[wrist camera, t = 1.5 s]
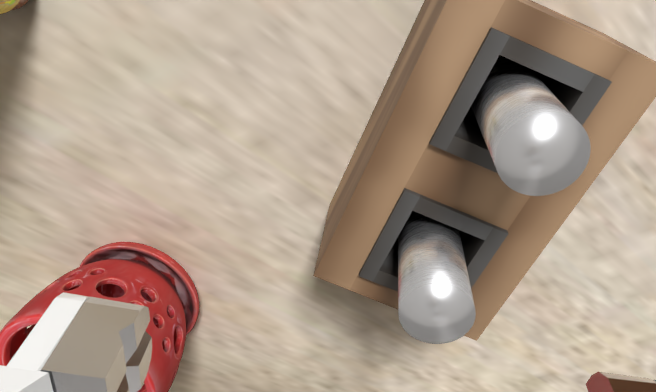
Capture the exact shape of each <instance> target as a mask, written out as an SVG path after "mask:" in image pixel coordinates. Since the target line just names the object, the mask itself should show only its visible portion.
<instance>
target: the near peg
mask: <svg viewBox="0 0 656 392" xmlns="http://www.w3.org/2000/svg"><path fill="white" fill-rule="evenodd" d="M471 108H472V110H473V113H474V115H475V118H476V120H477V123H478V125H479V128H480V130H481V132H482V135H483V137H484V140H485V142H486V145H487V147H488V150H489V152H490V155H491V157H492V160H493V162H494V165H495V167H496V170H497V172H498V174H499V176H500V178H501V180H502V181H503V182H504V183H505V184H506V185H507V186H508V187H509V188H511V189H512V190H514V191H516V192H518V193H521V194H525V195H530V196H543V195H549V194H553V193H556V192H559V191H561V190H563V189H565V188H566V187H568V186H569V185H571V184H572V183H573V182H574V181H576V180H577V179H578V178H579V176H580V175H581V174H582V173H583V171H584V169H585V168H586V166H587V163H588V161H589V157H590V148H591V146H590V140H589V137H588V134H587V132H586V130H585V129H584V128H583V126H582V125H581V124H580V123H579V122H578V121H577V120H576V118H575V117H574V116H573V115H572V114H571V113H570V112H569V111H568V110H567V109H566V107H565V106H564V105H563V104H562V103H561V102H560V101H559V100H558V99H557V98H556V96H555V95H554V94H553V93H552V92H551V91H550V90H549V89H548V88H547V87H546V85H545V84H544V83H543V82H542V81H541V80H540V79H539V78H538V77H537V76H536V75H535V73H534V72H533V71H532V70H531V69H530V68H528V67H526V66H523V65H521V64H519V63H517V62H514V61H512V60H510V59H508V58H506V59H498V60H496V62H495V64H494V66H493V68H492V69H491V71H490V73H489V75H488V76H487V78H486V80H485V82H484V84H483V85H482V87H481V89H480V91H479V93H478V94H477V96H476V98H475V100H474V102H473V103H472V105H471Z"/></svg>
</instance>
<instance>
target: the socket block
mask: <svg viewBox="0 0 656 392" xmlns="http://www.w3.org/2000/svg"><path fill="white" fill-rule="evenodd" d="M499 55H501V56H503V57H505V58H508V59H510V60H512V61H514V62H517V63H519V64H521V65H523V66H526V67H528V68H530V69H531V70H532V71H533V72H534V73H535V75H536V76H537V77H538V78H539V79H540V80H541V81H542V82H543V83H544V84H545V85H546V87H547V88H548V89H549V90H550V91H551V92H552V93H553V94H554V95H555V96H556V98H557V99H558V100H559V101H560V102H561V103H562V104H563V105H564V106H565V107H566V109H567V110H568V111H569V112H570V113H571V114H572V115H573V116H574V117H575V118H576V120H577V121H578V122H579V123H580V124H581V125H582V126H583V128H584V129H585V130H586V132H587V134H588V137H589V140H590V146H591V148H590V157H589V161H588V163H587V166H586V168H585V169H584V171H583V173H582V174H581V175H580V176H579V178H578V179H577V180H576V181H574V182H573V183H572V184H571V185H569V186H568V187H566V188H565V189H563V190H561V191H559V192H556V193H553V194H549V195H543V196H530V195H525V194H521V193H518V192H516V191H514V190H512V189H511V188H509V187H508V186H507V185H506V184H505V183H504V182H503V181H502V180H501V178H500V176H499V174H498V172H497V170H496V167H495V165H494V162H493V160H492V157H491V155H490V152H489V150H488V147H487V145H486V142H485V140H484V137H483V135H482V132H481V130H480V128H479V125H478V123H477V120H476V118H475V115H474V113H473V110H472V108H471V105H472V103H473V102H474V100H475V98H476V96H477V94H478V93H479V91H480V89H481V87H482V85H483V84H484V82H485V80H486V78H487V76H488V75H489V73H490V71H491V69H492V68H493V66H494V64H495V62H496V60H497V59H498V57H499ZM655 97H656V62H655V61H654V60H652V59H650V58H648V57H646V56H644V55H642V54H641V53H639V52H637V51H635V50H633V49H631V48H630V47H628V46H626V45H624V44H622V43H620V42H618V41H617V40H615V39H613V38H611V37H609V36H607V35H606V34H603V33H601V32H599V31H597V30H595V29H592V28H590V27H588V26H586V25H584V24H581V23H579V22H577V21H575V20H573V19H570V18H568V17H566V16H564V15H562V14H559V13H557V12H555V11H553V10H551V9H548V8H546V7H544V6H542V5H540V4H538V3H535V2H533V1H531V0H425V1H424V3H423V6H422V8H421V10H420V12H419V14H418V16H417V18H416V21H415V23H414V25H413V27H412V29H411V31H410V33H409V36H408V38H407V40H406V42H405V44H404V46H403V49H402V51H401V53H400V55H399V57H398V59H397V61H396V64H395V66H394V68H393V70H392V72H391V74H390V77H389V79H388V81H387V83H386V85H385V87H384V89H383V92H382V94H381V96H380V98H379V100H378V102H377V104H376V107H375V109H374V111H373V113H372V115H371V117H370V120H369V122H368V124H367V126H366V128H365V130H364V132H363V135H362V137H361V139H360V141H359V143H358V145H357V147H356V150H355V152H354V154H353V156H352V158H351V160H350V163H349V165H348V167H347V169H346V171H345V173H344V175H343V178H342V180H341V182H340V184H339V186H338V188H337V191H336V193H335V195H334V197H333V199H332V201H331V203H330V206H329V211H328V215H327V219H326V224H325V228H324V232H323V237H322V241H321V245H320V249H319V254H318V258H317V262H316V267H315V271H314V275H313V276H315V277H318V278H320V279H323V280H325V281H328V282H330V283H333V284H335V285H338V286H340V287H343V288H345V289H348V290H350V291H353V292H355V293H358V294H361V295H363V296H366V297H368V298H371V299H373V300H376V301H378V302H381V303H383V304H386V305H388V306H391V307H393V308H396V309H398V236H399V234H400V232H401V230H402V229H403V227H404V225H405V223H406V221H407V220H408V218H409V216H410V214H411V212H412V211H415V212H417V213H419V214H422V215H424V216H427V217H429V218H432V219H434V220H436V221H439V222H441V223H444V224H446V225H448V226H451V227H453V228H456V229H458V230H459V232H460V237H461V242H462V247H463V252H464V257H465V262H466V267H467V271H468V276H469V281H470V286H471V291H472V296H473V301H474V306H475V312H476V316H475V321H474V324H473V326H472V327H471V329H470V330H469V331H468V332H467V333H466V334H465V335H464V336H467V337H469V338H472V339H474V340H477V339H478V338H479V336H480V335H481V334H482V332H483V331H484V330H485V328H486V327H487V326H488V324H489V323H490V322H491V320H492V319H493V317H494V316H495V315H496V313H497V312H498V311H499V309H500V308H501V307H502V305H503V304H504V302H505V301H506V300H507V298H508V297H509V296H510V294H511V293H512V292H513V290H514V289H515V288H516V286H517V285H518V283H519V282H520V281H521V279H522V278H523V277H524V275H525V274H526V273H527V271H528V270H529V268H530V267H531V266H532V264H533V263H534V262H535V260H536V259H537V258H538V256H539V255H540V253H541V252H542V251H543V249H544V248H545V247H546V245H547V244H548V243H549V241H550V240H551V239H552V237H553V236H554V234H555V233H556V232H557V230H558V229H559V228H560V226H561V225H562V224H563V222H564V221H565V219H566V218H567V217H568V215H569V214H570V213H571V211H572V210H573V209H574V207H575V206H576V205H577V203H578V202H579V200H580V199H581V198H582V196H583V195H584V194H585V192H586V191H587V190H588V188H589V187H590V185H591V184H592V183H593V181H594V180H595V179H596V177H597V176H598V175H599V173H600V172H601V171H602V169H603V168H604V166H605V165H606V164H607V162H608V161H609V160H610V158H611V157H612V156H613V154H614V153H615V151H616V150H617V149H618V147H619V146H620V145H621V143H622V142H623V141H624V139H625V138H626V137H627V135H628V134H629V132H630V131H631V130H632V128H633V127H634V126H635V124H636V123H637V122H638V120H639V119H640V117H641V116H642V115H643V113H644V112H645V111H646V109H647V108H648V107H649V105H650V104H651V103H652V101H653V100H654V98H655Z"/></svg>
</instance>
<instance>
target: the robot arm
mask: <svg viewBox="0 0 656 392" xmlns="http://www.w3.org/2000/svg"><path fill="white" fill-rule="evenodd" d="M149 322H150V315H149V308H148V307H146V306H142V305H136V304H131V303H125V302H119V301H113V300H107V299H102V298H96V297H88V296H82V295H76V294H70V293H64V292H63V293H61V294H60V295H59V296H57V297H56V298H55V299H54V300H53V301H52V303H51V304H50V305H49V307H48V308H47V310H46V311H45V312H44V314H43V315H42V317H41V318H40V319H39V321H38V322H37V324H36V325H35V326H34V328H33V329H32V331H31V332H30V333H29V335H28V336H27V338H26V339H25V340H24V342H23V343H22V345H21V346H20V347H19V349H18V350H17V352H16V353H15V355H14V356H13V357H12V359H11V360H10V362H9V363H8V364H7V366H2V365H0V392H137V391H139V390H140V389H141V388H142V385H143V383H144V380H145V378H146V376H147V372H148V369H149V365H150V361H151V355H152V337H151V336H150V335H149V334H148V333H147V332H146V331H145V330H146V328H147V326H148V324H149ZM586 386H587V389H588V391H589V392H656V380H652V379H648V378H641V377H634V376H626V375H619V374H611V373H604V372H597V373H595V374H593V375H592V376H591V377H590V379H589V380H588V382H587V383H586Z"/></svg>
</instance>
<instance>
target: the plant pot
mask: <svg viewBox="0 0 656 392" xmlns="http://www.w3.org/2000/svg"><path fill="white" fill-rule="evenodd" d="M63 292H64V293H70V294H76V295H82V296H88V297H96V298H102V299H107V300H113V301H119V302H125V303H131V304H136V305H142V306H146V307H148V308H149V315H150V322H149V324H148V326H147V328H146V330H145V331H146V332H147V333H148V334H149V335H150V336H151V337H152V355H151V361H150V365H149V369H148V372H147V376H146V378H145V380H144V385H143V386H142V388H141V389H140V390H139V391H137V392H168V391H169V389H170V387H171V385H172V383H173V380H174V378H175V376H176V373H177V370H178V367H179V363H180V360H181V358H182V354H183V350H184V345H185V338H186V335H187V334H188V333H189V332H190V331H191V330H192V328H193V327H194V325H195V323H196V320H197V317H198V313H199V299H198V293H197V290H196V288H195V285H194V283H193V282H192V280H191V278H190V277H189V275H188V274H187V273H186V271H185V270H184V269H183V268H182V267H181V266H180V265H179V264H178V263H177V262H176V261H175V260H174V259H172V258H171V257H169V256H168V255H167V254H165V253H163V252H161V251H159V250H157V249H155V248H153V247H150V246H147V245H144V244H139V243H133V242H116V243H111V244H107V245H104V246H102V247H100V248H98V249H96V250H94V251H92V252H91V253H90V254H88V255H87V256H86V257H85V259H84V260H83V261H82V263H81V265H80V267H79V268H77V269H74V270H72V271H70V272H68V273H67V274H65V275H63V276H62V277H60V278H59V279H57V280H56V281H54V282H53V283H51V284H50V285H49V286H47V287H46V288H45V289H44V290H42V291H41V292H40V293H38V294H37V295H36V296H35V297H34V298H33V299H32V300H30V301H29V302H28V303H27V304H26V305H25V306H24V307H23V308H22V309H21V310H20V311H19V312H18V313H17V314H16V315H15V316H14V317H13V318H12V319H11V320H10V321H9V322H8V323H7V324H6V325H5V326H4V327H3V329H2V330H1V331H0V365H2V366H7V364H8V363H9V362H10V360H11V359H12V357H13V356H14V355H15V353H16V352H17V350H18V349H19V347H20V346H21V345H22V343H23V342H24V340H25V339H26V338H27V336H28V335H29V333H30V332H31V331H32V329H33V328H34V326H35V325H36V324H37V322H38V321H39V319H40V318H41V317H42V315H43V314H44V312H45V311H46V310H47V308H48V307H49V305H50V304H51V303H52V301H53V300H54V299H55V298H56V297H57V296H59V295H60V294H61V293H63ZM30 325H32V326H31V327H30V328H28V329H27V326H30Z"/></svg>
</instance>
